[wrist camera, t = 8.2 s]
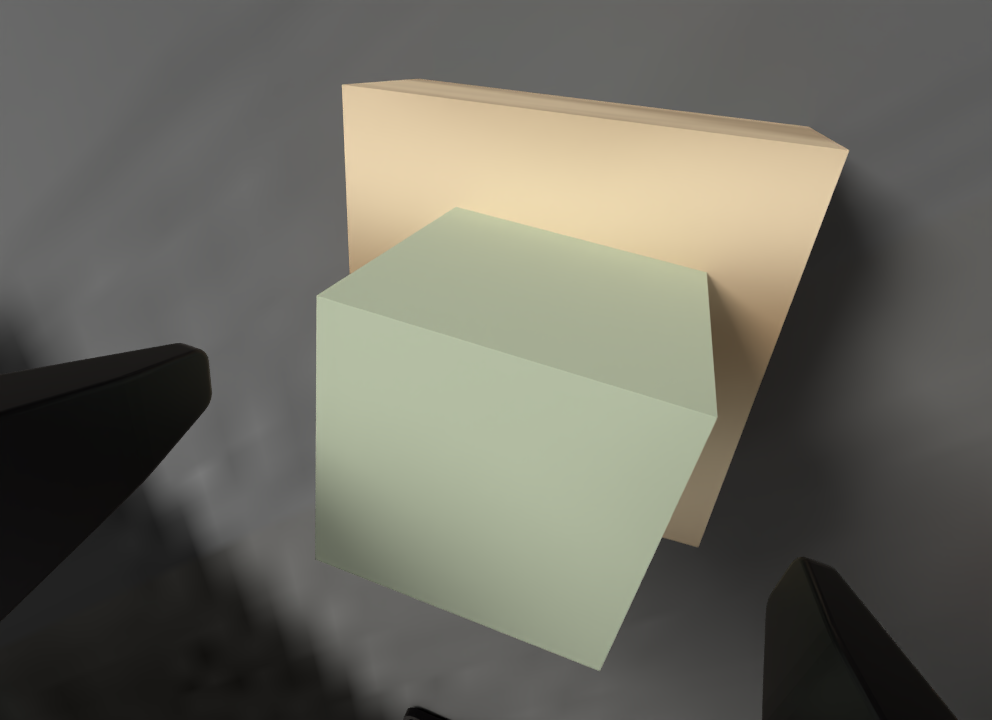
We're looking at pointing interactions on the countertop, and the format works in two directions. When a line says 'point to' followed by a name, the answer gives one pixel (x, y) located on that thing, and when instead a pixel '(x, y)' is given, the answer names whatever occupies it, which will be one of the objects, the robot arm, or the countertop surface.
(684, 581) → the countertop surface
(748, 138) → the maple block
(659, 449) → the sage cube
